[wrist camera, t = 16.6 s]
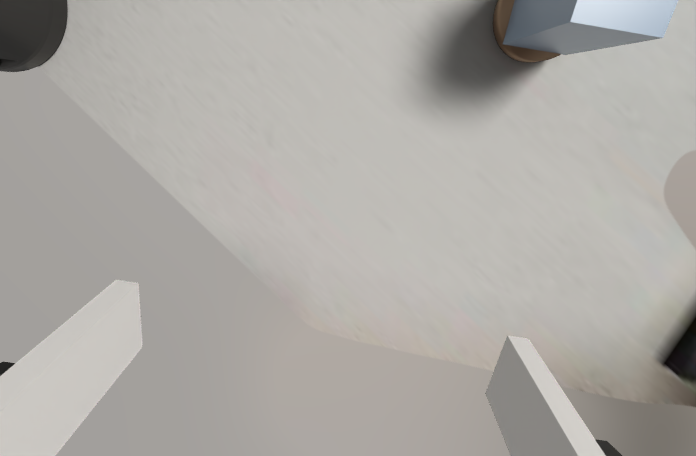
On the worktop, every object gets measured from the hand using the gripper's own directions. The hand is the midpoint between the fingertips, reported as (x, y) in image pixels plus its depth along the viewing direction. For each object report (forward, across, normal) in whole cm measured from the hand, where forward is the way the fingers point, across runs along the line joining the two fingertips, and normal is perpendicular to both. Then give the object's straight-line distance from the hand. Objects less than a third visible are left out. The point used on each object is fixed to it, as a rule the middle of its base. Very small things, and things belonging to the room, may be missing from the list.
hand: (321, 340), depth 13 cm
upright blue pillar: (+28, +16, +17) cm, 36 cm away
